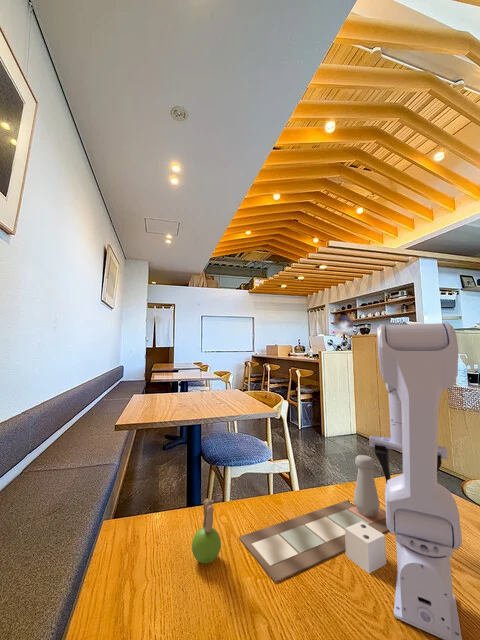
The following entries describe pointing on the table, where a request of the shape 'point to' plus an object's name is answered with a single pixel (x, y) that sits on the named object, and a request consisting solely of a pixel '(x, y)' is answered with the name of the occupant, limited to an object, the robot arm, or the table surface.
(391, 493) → the robot arm
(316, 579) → the table surface
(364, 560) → the die
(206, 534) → the green ball handle toy
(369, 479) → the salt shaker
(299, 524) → the game board
